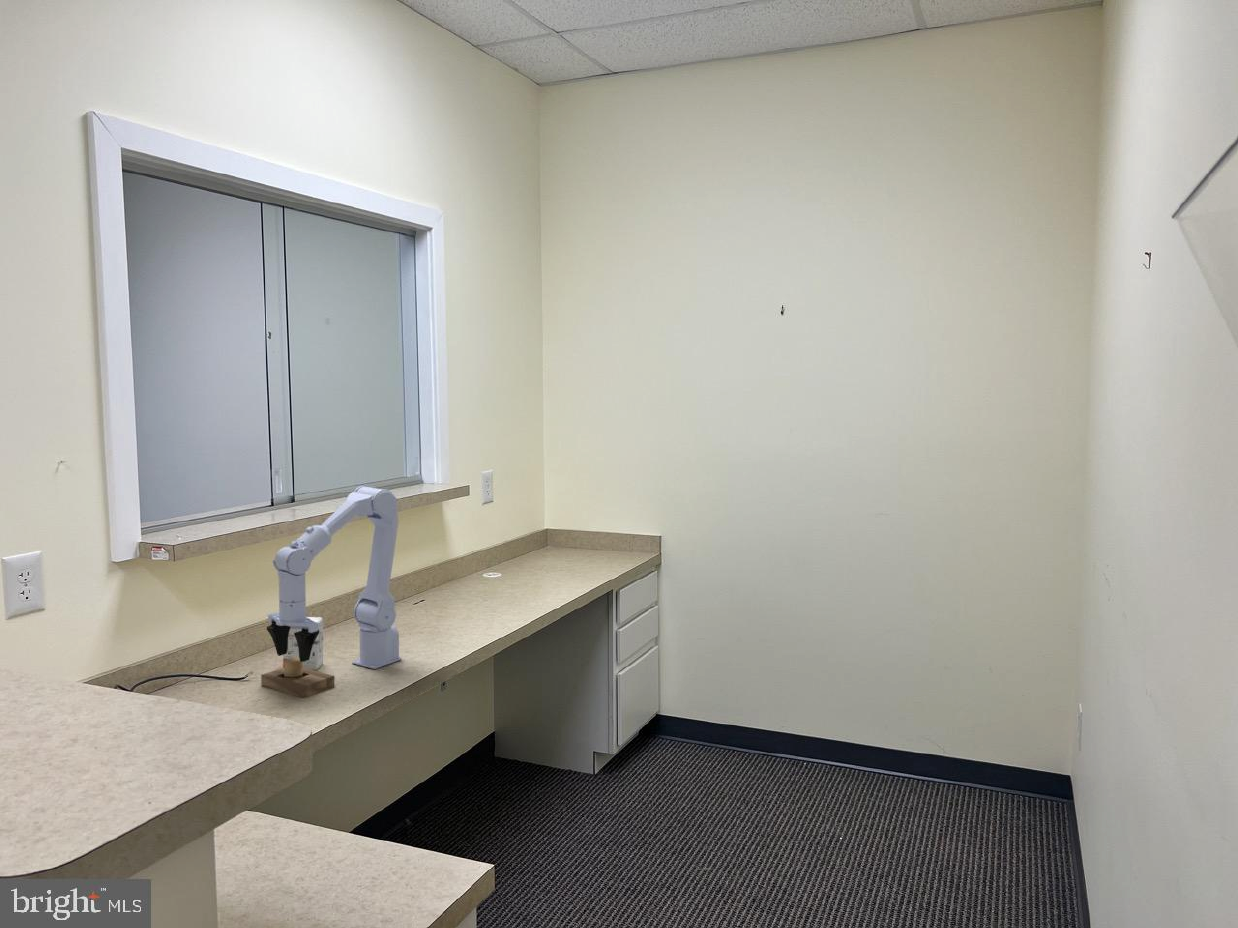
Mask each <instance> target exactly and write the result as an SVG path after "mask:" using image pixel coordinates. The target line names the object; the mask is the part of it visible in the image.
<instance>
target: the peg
mask: <svg viewBox="0 0 1238 928" xmlns="http://www.w3.org/2000/svg"><path fill="white" fill-rule="evenodd" d="M300 677H303V662H300V659H299V658H289V659H286V660H285V661H284V678H285V679H288V680H294V679H297V678H300Z"/></svg>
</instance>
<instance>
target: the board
mask: <svg viewBox="0 0 1238 928" xmlns="http://www.w3.org/2000/svg"><path fill="white" fill-rule="evenodd" d="M260 679H261V680H260V683H261V686H263V687H266V688H268V689H269V688H270V689H272V690H276V691H278V692H279V691H280V692H283V693H286V694H289V695H293V696H295V697H300V698H307V697H309V696H312V695H314V694H317V693H320V692H323V691H326V690H328V689H331V688H334V687H335V686H336V685H335V675H332V674H328V673H325V672H323V671H322V672H321V671H318V670H311V669H307V668H304V667H303V677H300V678H297V679H294V680H288V679H285V678H284V668H283V667H282V668H278V669H276V670H272V671H269V672H266V673H262V674H261V677H260Z"/></svg>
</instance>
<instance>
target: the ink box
mask: <svg viewBox="0 0 1238 928" xmlns="http://www.w3.org/2000/svg"><path fill="white" fill-rule="evenodd" d="M306 617H307V618H309V619H311V620H312V621H314V622H317V623H318V630H319V634H318V636H317V637H316V639H315V641H314V644H313V647H312V650H311V654H310V658H309V660H307V661H304V662H303V667H304V668H307V669H311V670H315V671H318V669H319V668H320V667H322V665H323V664H324V618H322V617H321V616H318V617H317V616H306ZM299 631H302V629H298V628H294V627H291V628H290V631H289V636H288V649H287V654H284V655H282V661H283V662H282V663H283V664H282V665H283V666H282V668H284V661H285V660H286V659H289V658H299V649H298V644H297V640H296V638H295V636H294V633H296V632H299Z"/></svg>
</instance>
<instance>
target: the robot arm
mask: <svg viewBox="0 0 1238 928" xmlns="http://www.w3.org/2000/svg"><path fill="white" fill-rule="evenodd" d="M397 505H398V498H397V497H396V496H395V495H394V493H393V492H392V491H391V490H389V489H386V488H384V489H382V488H375V487H370V486H367V485H366V486H365V485H360V486H358V487H357V488H356V489H355V490H353V491H352V492H351V493H349V494H348V496H347V499H346V500H345V501H344V502H343V504H341V505H340V506H339V507H338V508H337V509H336V510H335V511H334V512H333V513H332V514H330V516H329V517H328V518H327V519H326V520H325V521H324V522H322V524H320V525H318V524H316V525H315V524H314V525H312V526H308V527H307V528H305V532H304V533H303V534H302V535H300V536H299V537H298V538H297V539H296V540H293V541H292V542H290V545H289V546H284V547H282V548H280V549H279V550H278V551H277V553H276V554H275V556H274V559H272V566H273V567H274V569H276V571H277V577H278V601H279V603H278V605H279V607H278V608H279V610H278V612H273V613H269V614H268V615H267V620H268V621H267V622H268V623H270V624H271V625H268V626H267V625H266V631H267V632H268V633H269V635H270V637H271V639H272V641H273V644H274V647H275V651H276V654H277V656H280V657H281V656H283V655H284V654H287V649H288V636H289V631H290V628H291V627H294V628H298V629H302V631H299V632H296V633H294V636H295V638H296V640H297V644H298V649H299V659H300V662H304V661H307V660H309V658H310V654H311V650H312V647H313V644H314V641H315V639H316V637H317V636H318V634H319V630H318V623H317V622H314V621H312V620H311V619H309V618H307V617H308V616H306V615H307V614H306V613H307V607H306V606H307V604H306V603H307V601H306V599H307V598H306V591H307V590H306V572H307V571H309V569H310V567H311V564H312V561H313V560H314V559H315V558H316V557H317V556H318V555H319V554H320V553H321V552H323V551H324V550H325V549H326V548H327V547H328V546H329V545H330V544H332V536H333V535H334V534H336V533H337V532H338V531H339V530H341V529H342V528H343V527H345V526H346V525H347V524H349V523H351V521H353V520H354V519H355V518H357V517H365V516H367V518H368V519H369V520H370V521H371V522H372V524H373V525H374V531H373V538H372V543H371V544H372V545H371V552H370V558H369V560H370V561H369V565H368V573H367V580H366V586H365V588H364V589H363V590H362V591H361V592H360V593H359V594H358V599H357V602H356V604H355V605H354V608H353V612H352V613H353V618H354V620H355V621H356V622H357V623H358V627H359V658H358V659H355V660H352V661H351V663H352V664H353V665H358V666H362V667H365V668H368V669H369V668H370V669H373V670H376V669H379V668H382V667H384V666H387V665H390V664H392V663H395V662H398V661H401V660H402V657H401V656H400V634H399V631H398V629H397V627H396V626H395V625H394V623H395V621H396V618H397V612H396V611H397V610H396V609H395V603H396V600H395V598H394V596H393V595H392V593H391V592H390V584H391V577H392V570H393V563H394V556H395V549H396V543H397V541H396V540H397V536H398V535H397V534H398V527H399V515H398V510H397Z"/></svg>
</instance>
